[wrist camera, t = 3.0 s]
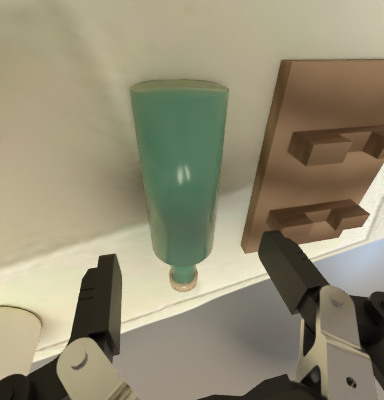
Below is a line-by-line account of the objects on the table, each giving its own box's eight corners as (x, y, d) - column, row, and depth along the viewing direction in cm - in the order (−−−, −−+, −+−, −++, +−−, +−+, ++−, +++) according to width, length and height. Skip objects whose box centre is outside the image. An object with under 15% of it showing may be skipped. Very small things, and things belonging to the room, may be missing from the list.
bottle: (132, 80, 13) (126, 101, 9) (215, 78, 14) (243, 98, 10) (157, 261, 24) (159, 308, 20) (203, 255, 25) (214, 299, 21)
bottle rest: (281, 60, 14) (318, 67, 12) (427, 58, 16) (488, 64, 14) (240, 245, 25) (254, 272, 22) (331, 230, 27) (354, 253, 25)
